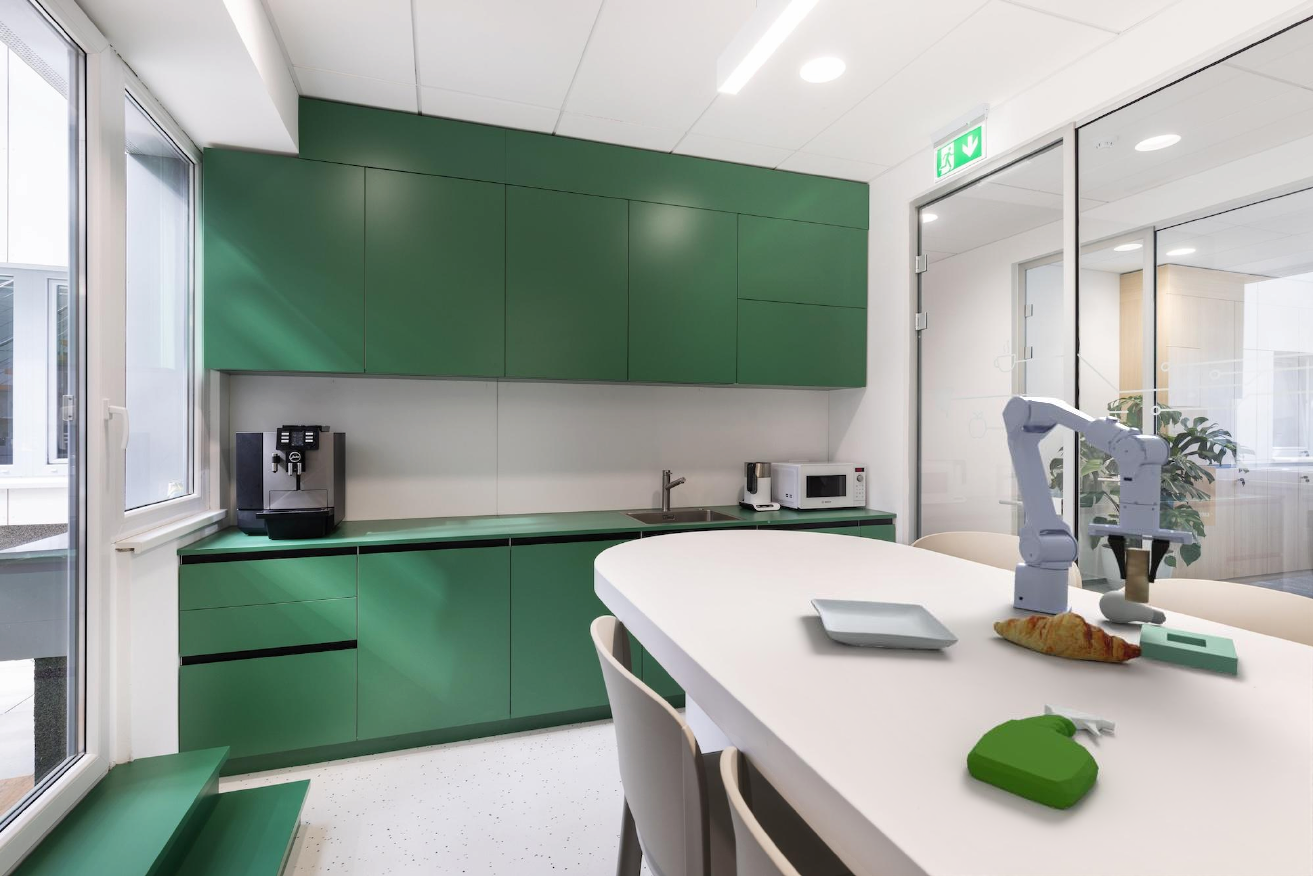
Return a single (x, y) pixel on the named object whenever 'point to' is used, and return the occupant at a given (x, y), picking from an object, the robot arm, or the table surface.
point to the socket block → (1189, 649)
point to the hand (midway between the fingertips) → (1137, 580)
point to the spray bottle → (1039, 756)
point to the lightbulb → (1128, 610)
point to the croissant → (1067, 638)
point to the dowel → (1137, 575)
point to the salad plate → (883, 624)
